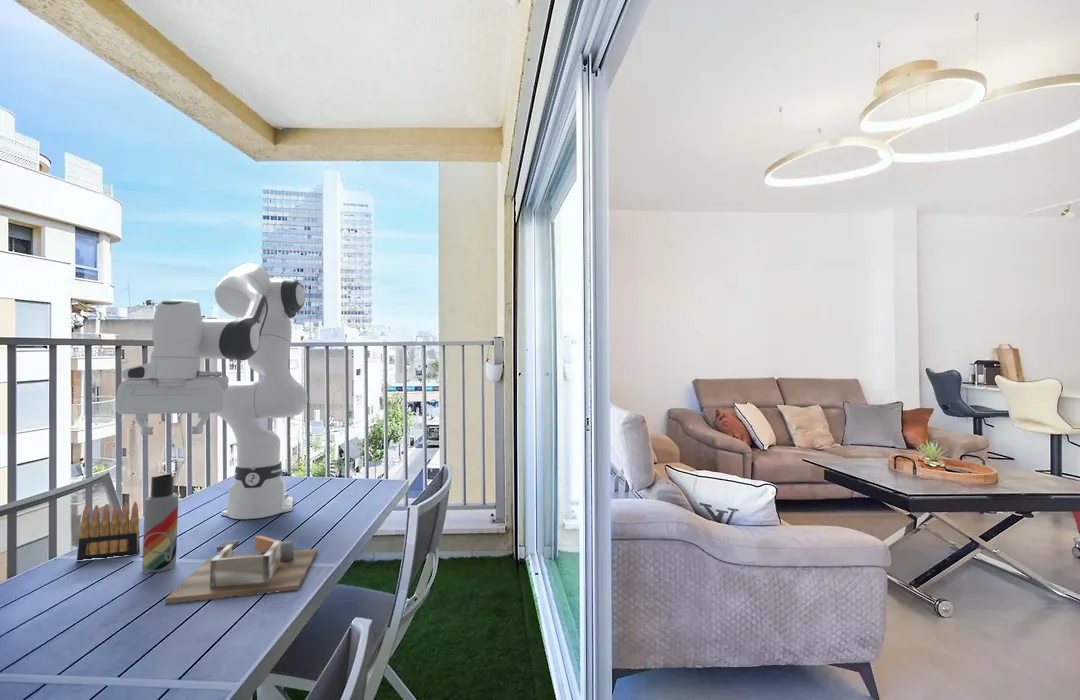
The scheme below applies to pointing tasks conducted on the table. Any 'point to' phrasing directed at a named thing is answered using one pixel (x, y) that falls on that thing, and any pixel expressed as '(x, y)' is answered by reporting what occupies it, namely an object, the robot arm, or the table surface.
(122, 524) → the ammunition clip
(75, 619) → the table surface
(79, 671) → the table surface
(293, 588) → the cradle
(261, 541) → the arm
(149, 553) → the lotion bottle
